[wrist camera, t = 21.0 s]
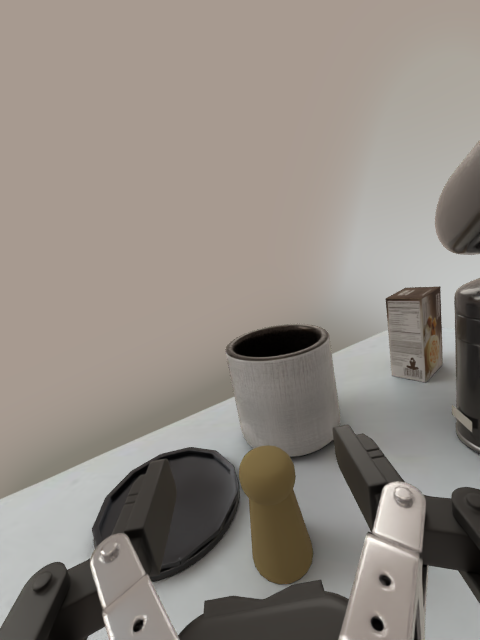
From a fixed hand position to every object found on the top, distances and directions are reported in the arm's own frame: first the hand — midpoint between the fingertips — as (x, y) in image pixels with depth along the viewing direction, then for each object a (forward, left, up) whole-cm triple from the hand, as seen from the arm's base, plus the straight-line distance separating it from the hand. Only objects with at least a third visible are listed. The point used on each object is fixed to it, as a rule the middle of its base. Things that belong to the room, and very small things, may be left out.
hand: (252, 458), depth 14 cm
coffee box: (-50, -15, -20) cm, 56 cm away
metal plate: (0, -23, -20) cm, 30 cm away
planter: (-21, -22, -20) cm, 36 cm away
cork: (-6, -9, -20) cm, 23 cm away
